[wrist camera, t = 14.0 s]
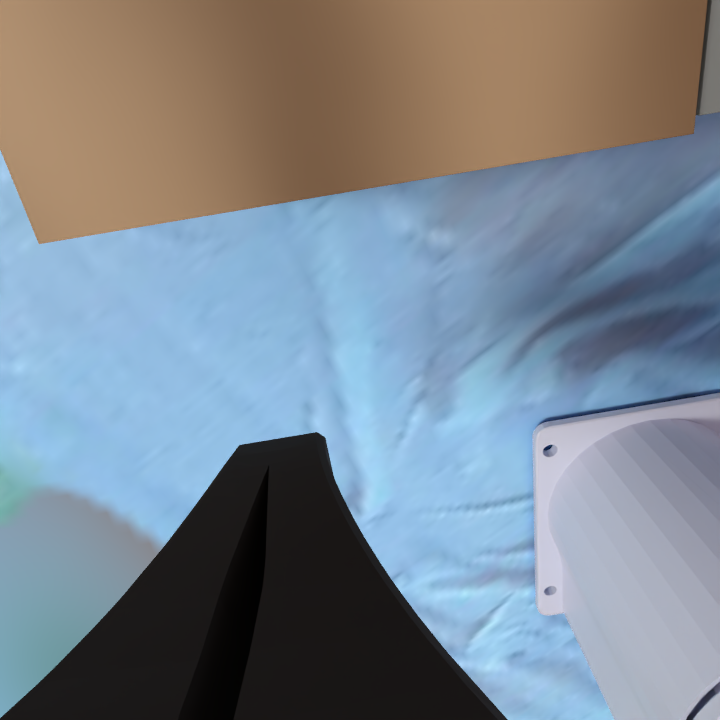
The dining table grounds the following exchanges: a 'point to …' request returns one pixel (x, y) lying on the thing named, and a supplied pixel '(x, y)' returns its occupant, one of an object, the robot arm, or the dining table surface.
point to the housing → (318, 96)
